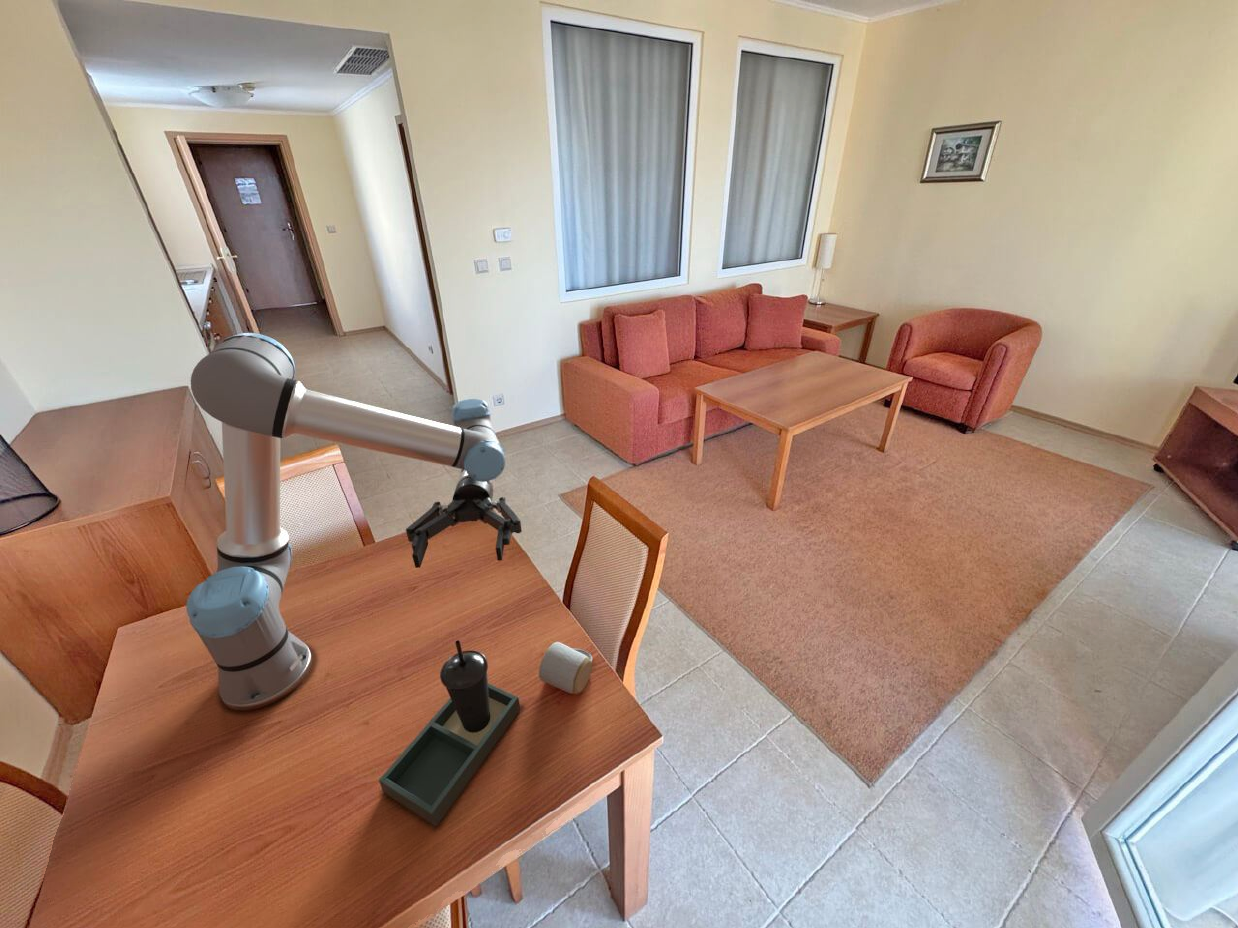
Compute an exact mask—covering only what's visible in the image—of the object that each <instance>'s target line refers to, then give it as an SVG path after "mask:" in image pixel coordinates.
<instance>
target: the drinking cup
mask: <svg viewBox="0 0 1238 928" xmlns="http://www.w3.org/2000/svg"><path fill="white" fill-rule="evenodd" d="M454 643H455V647H456V651H457V653H455V654H453V655H451V656H450V657H449V658H448V659H447V660H446V661H445V662H444V663H443V665H442V666H441V669H440V673H439V677H440V678H439V679H440V682H441V684H442V685H443V686H444V687H445V689H446V691H447V693H448V695H449V699H450V698H451V700H452V702H453V704H454V707H455V709H456V711H457V713H458V716H459V718H460V720H461V722H462V725H463V727H464V729H465V730H466V731H468V732H472V733H474V732H479V731H481V730H483V729H484V728H485V727H486V726H487V725H488V723H489V721H490V706H489V693H488V683H489V681H488V669H489V664H488V659H487V658H486V656H485V655H484V654H483V653H482V652H479V651H477V650H473V649H471V650H470V649H469V650H463V649H462V645H461V641H460V640H455V642H454Z"/></svg>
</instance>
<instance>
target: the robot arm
mask: <svg viewBox="0 0 1238 928" xmlns="http://www.w3.org/2000/svg"><path fill="white" fill-rule="evenodd" d="M295 376H296V366H295V361H294V358H293V356H292V355H291V353H290V351H289V350H288V349H287V348H286V347H285V346H284V345H283V344H282V343H280V342H278V341H277V340H276V339H274V338H272V337H270V336H267V335H264V334H260V333H256V332H242V333H241V332H240V333H237V334H234V335H231V336H228V337H226V338H224V339H222V340H221V341H219V342H218V344H216V346H215V347H214V348H213V349H212V350H211V351H210V352H209V353H208V354H207V355H205V356H204V357H202V358H201V359H200V360H199V361H198V362H197V363H196V365H195V366H194V368H193V370H192V373H191V377H190V390H191V392H192V396H193V398H194V400H195V401H196V403H197V404H198V406H200V408H201V409H202V410H203V411H204V412H206V413H207V414H208V415H209V416H210V417H212V418H213V419H216V420H217V421H220V422H221V436H222V457H223V458H222V462H223V463H222V464H223V482H224V483H223V484H224V487H223V488H224V509H225V531H224V532H222V533H220V535H219V536H218V538H217V540H216V557H217V559H216V560H217V566H216V567H217V568H216V572H215V573H213V574H211V575H209V576H208V577H206V579H205V581H203V582H199V583H198V584H197V585H196V586H195V587H194V589H193V590H192V591H191V593H190V594H189V595H188V598H187V601H186V605H185V606H186V607H185V608H186V615H187V616H188V618H189V623H190V625H191V627H192V629H193V630H194V631H195V632H196V633H197V635H198V636H199V638H200V639H201V641H202V643H203V645H204V646H205V648H206V649H207V651H208V653H209V654H210V656H211V658H212V660H213V661H214V663H215V664H216V666H217V671H218V678H217V679H218V680H217V681H218V694H219V697H220V698H221V701H222V702H223V703H224V705H225V706H226V707H228V708H229V709H232V710H234V711H240V712H245V711H254V710H258V709H262V708H264V707H265V708H266V707H268V706H270V705H272V704H274V703H276V702H278V701H281V700H282V699H283V698H285V697H286V696H288V695H290V694H291V692H293V691H295V689H297V688H298V687H299V686H300V685H301V684H302V683H303V681H305V680H306V678H307V677H308V674H309V673H310V670H311V668H312V666H313V655H312V652H311V650H310V649H309V646H308V645H307V644H306V643H305V642H303V641H302V640H301V639H300V638H298V637H297V636H296V635H294V634H293V633H292V632H290V631H289V630H288V628H287V626H286V625H287V624H286V623H285V621H284V618H283V617H282V614H281V612H280V603H281V599H282V595H283V592H284V588H285V584H286V581H287V577H288V574H289V571H290V569H291V566H292V563H293V550H292V545H291V543H290V542H289V541H290V540H289V539H290V536H289V533H288V531H287V530H286V529H285V528H283V527H281V439H284V440H285V439H287V438H289V437H291V436H295V435H296V436H301V437H304V438H305V437H306V438H311V439H315V440H320V441H325V442H330V443H335V444H339V445H340V444H341V445H344V446H349V447H355V448H359V449H364V450H370V451H374V452H378V453H379V452H380V453H384V454H389V455H393V456H399V457H403V458H408V459H412V460H417V461H421V462H422V461H423V462H427V463H432V464H437V465H442V466H447V467H452V468H456V469H460V474H459V477H458V480H457V483H456V486H455V489H454V493H453V495H452V499H451V501H450V502H449V503H448V504H441V502H440V501H435V502H433V504H432V506H431V507H430V509H428V510H427V511H426V512H425V513H424V514H422V515H421V516H420V517H418V518H417V519H416V520H415V521H414V522H412V523H411V524H410V525H409V526H408V527H406V528H405V532H406V536H407V540H408V542H410V544H411V548H412V554H411V555H412V556H411V557H412V561H413V564H414V567H415V569H417V568H418V569H419V568H421V567H422V563H423V560H424V557H425V555H426V552H427V548H428V546H429V540H430V539H432V538H433V537H434V536H436V535H438V534H440V533H441V532H442V531H444V530H446V529H447V528H449V527H450V526H451V527H455V526H456V525H458V524H459V523H466V522H478V521H481V522H482V523H484V524H488V525H489V526H490V527H492V528H493V529H495V530H496V531H497V536H496V543H495V553H496V559H497V561H498V562H499V561H503V556H504V549H505V546H509V545H510V544H511V538H512V534H513V533H516V534H520V533H522V532H523V531H522V523H521V519H520V518H519V516H518V515H517V514H516V513H515V512H514V511H513V510H512V509H511V507H510V506H509V505H508V504H507V499H506V497H505V496H501V497H499V498H498V500H496V501H493V497H494V490H495V486H496V479H497V478H498V477H500V475H501V474H502V473H503V471H504V470H505V467H506V457H505V453H504V448H503V446H502V445H501V443H500V441H499V439H498V437H497V434H496V432H495V429H494V427H493V424H492V421H491V419H492V418H491V412H490V409H489V404H488V403H487V401H485V400H483V399H479V398H468V399H464V400H463V399H462V400H460V401H458V402H456V403H455V404H453V406H452V408H451V413H452V422H453V425H451V424H447V423H443V422H438V421H434V420H430V419H427V418H423V417H419V416H415V415H411V414H408V413H407V414H406V413H403V412H399V411H395V410H390V409H387V408H383V407H379V406H375V405H371V404H367V403H362V402H359V401H355V400H351V399H347V398H342V397H340V396H335V395H330V394H327V393H324V392H323V393H322V392H318V391H314V390H311V389H307V388H305V386H304V385H303V383H301V381H300V380H296V379H294V378H295ZM493 509H495V511H497V512H498V513H496V512H495V511H493ZM499 514H501V515H499Z"/></svg>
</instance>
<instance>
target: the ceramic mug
mask: <svg viewBox="0 0 1238 928" xmlns="http://www.w3.org/2000/svg"><path fill="white" fill-rule="evenodd" d="M592 668H593V656H592V654H591V653H590V652H588V651H587V650H584V649H582V648H581V649H580V648H572V647H571V646H568V645H566V644H564V643H562V642H560V641H555V642H553V643H552V644H551V645H550V646H549V647H548V648H547V650H546V651H545V653H544V655H543V657H542V658H541V661H540V666H539V669H538V670H539V671H538V678H539V680H540V681H541V682H544V683H546V684H548V685H550V686H552V687H555V688H557V689H559V690H562V691H563V692H566V693H568V694H572V695H577V694H579V693H581V692H582V691H583V690H584V689H585V687H586V685H587V684H588V682H589V679H590V676H591V673H592Z"/></svg>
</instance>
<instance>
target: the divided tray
mask: <svg viewBox="0 0 1238 928" xmlns="http://www.w3.org/2000/svg"><path fill="white" fill-rule="evenodd" d="M488 693H489V706H490V721H489V723H488V725H487V726H486V727H485V728H484V729H483V730H481V731H479V732H474V733H472V732H468V731H466V730H465V729H464V727H463V725H462V722H461V720H460V718H459V716H458V713H457V711H456V709H455V707H454V704H453V702H452V700H451V698H450V697H449V699H448V700H447V701H446V702H445V703H444V704H443V706H441V708H440V709H439V710H438V711H437V713H436V714H435V715H434V716H433V717H432V718H431V719H430V721H428V723H427V724H426V725H425V726H424V728H423V729H422V730H421V731H420V732H419V733H418V734H417V736H415V738H414V739H413V740H412V741H411V742H410V744H409V745H408V746H407V747H406V748H405V749H404V751H403V752H402V753H401V754H400V755H399V756H398V757H397V758H396V760H395V761H394V762H393V763H392V764H391V765H390V766H389V768H388V769H387V770H386V771H385V772H384V773H383V774H382V776H380V778H379V779H378V782H379V784H380V787H381V789H382V791H383V793H384V794H385V795H387V796H388V797H390V798H391V799H392V800H394V801H396V802H398V803H399V804H400V805H402V806H404V807H405V808H407V809H408V810H409V811H411V812H413V813H414V814H416V815H417V816H419V817H420V818H422V819H423V820H425V821H426V822H428V823H429V824H431V825H433V826H434V827H438V825H439V824H440V822H441V821H442V820H443V818H444V817H445V815H446V814H447V813H448V811H449V810H450V808H451V807H452V805H453V804H454V803H455V801H456V800H457V799H458V797H459V796H460V794H461V793H462V792H463V790H464V789H465V788H466V786H467V785H468V783H469V782H470V781H471V779H472V778H473V777H474V775H475V774H476V772H477V771H478V769H479V768H480V767H481V766H482V765H483V762H484V761H485V759H486V758H487V757H488V755H489V754H490V753H491V752H492V750H493V748H494V747H495V746H496V744H497V743H498V742H499V740H500V739H501V737H502V736H503V735H504V733H505V732H506V731H507V729H508V728H509V726H510V725H511V724H512V722H513V721H514V719H515V718H516V716H517V715H518V713H520V711H521V706H520V699H519V696H517V695H514V694H512V693H510V692H508V691H507V690H504V689H501V688H499V687H497V686H495V685H493V684H492V683H489V682H488Z"/></svg>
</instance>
